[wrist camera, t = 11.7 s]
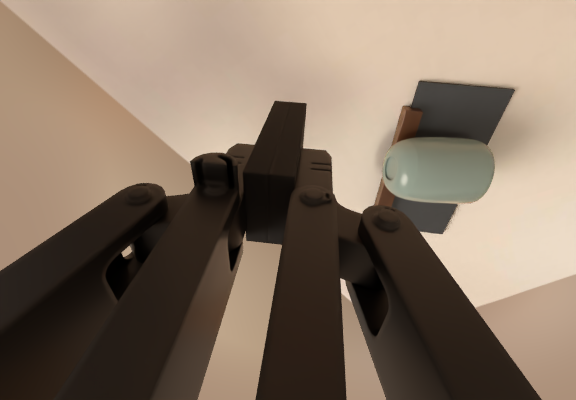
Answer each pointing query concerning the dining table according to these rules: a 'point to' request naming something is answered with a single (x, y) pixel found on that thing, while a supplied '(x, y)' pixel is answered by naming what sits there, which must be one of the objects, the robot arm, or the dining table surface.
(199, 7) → the dining table surface
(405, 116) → the stop bar
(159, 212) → the robot arm
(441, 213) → the mat
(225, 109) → the dining table surface
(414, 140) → the cup
